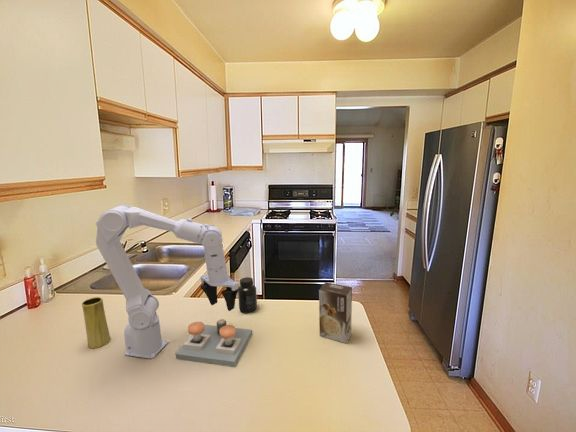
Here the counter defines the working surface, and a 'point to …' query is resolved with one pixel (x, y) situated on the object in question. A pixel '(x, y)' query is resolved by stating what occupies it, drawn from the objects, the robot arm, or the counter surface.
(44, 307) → the counter surface
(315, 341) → the counter surface
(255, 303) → the supplement bottle
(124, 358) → the counter surface
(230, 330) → the knob
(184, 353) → the mount board
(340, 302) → the coffee box
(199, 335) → the knob
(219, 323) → the white domed button
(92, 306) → the vase
